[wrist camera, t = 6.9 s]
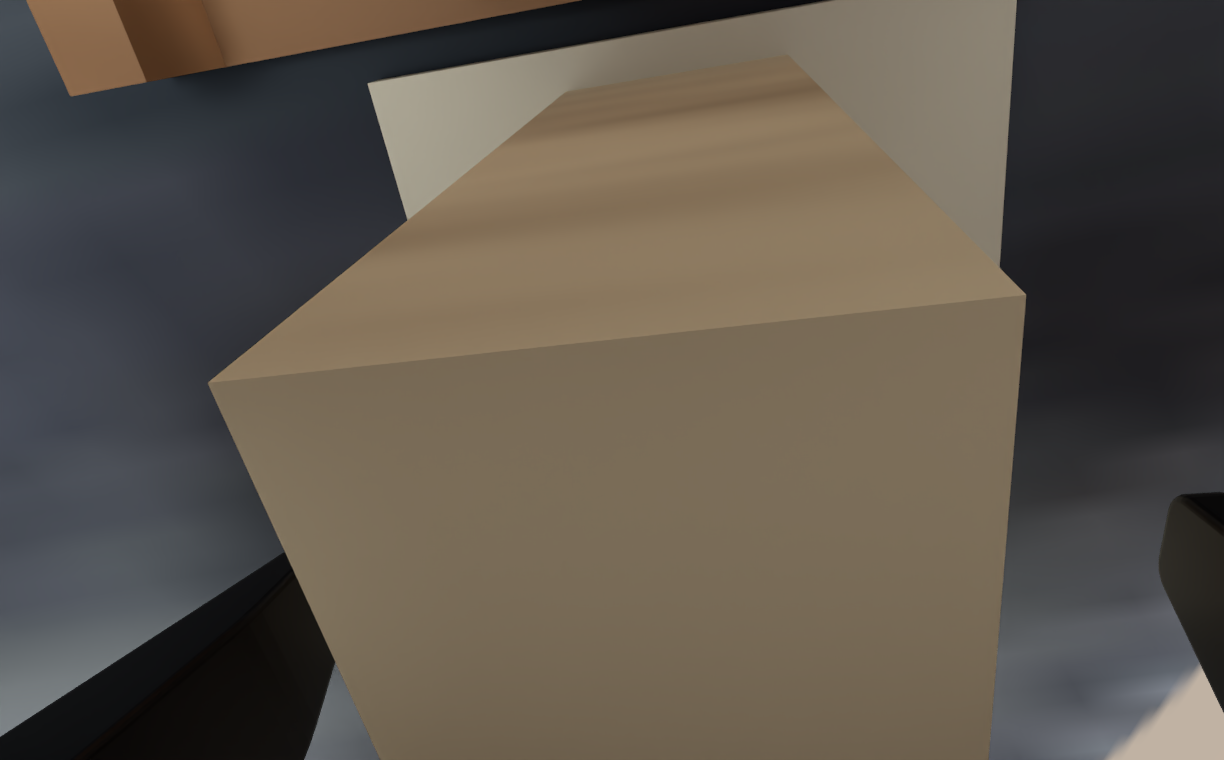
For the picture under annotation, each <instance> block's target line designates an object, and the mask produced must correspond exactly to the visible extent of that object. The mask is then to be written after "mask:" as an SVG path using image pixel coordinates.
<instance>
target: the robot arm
mask: <svg viewBox="0 0 1224 760" xmlns="http://www.w3.org/2000/svg"><path fill="white" fill-rule="evenodd" d="M1159 574H1160V578H1161V581H1162V584H1163V587H1164V589H1165V591H1166V593H1167V595H1168V597H1169V599H1170V601H1171V604H1172V606H1173V608H1174V610H1175V612H1176V614H1177V616H1178V618H1179V620H1180V622H1181V625H1182V627H1183V629H1184V631H1185V633H1186V635H1187V637H1188V639H1189V641H1190V643H1191V645H1192V648H1193V650H1194V652H1195V654H1196V656H1197V658H1198V660H1199V662H1200V664H1201V666H1202V669H1203V671H1204V673H1205V675H1206V677H1207V679H1208V681H1209V683H1210V685H1211V687H1212V690H1213V692H1214V694H1215V696H1216V698H1217V700H1218V702H1219V704H1220V706H1221V708H1222V710H1223V712H1224V493H1223V492H1212V493H1196V494H1183V495H1180V496H1178V497H1176V498H1175V499H1173V501H1172V502H1171V504H1170V507H1169V510H1168V515H1167V520H1166V525H1165V530H1164V535H1163V540H1162V545H1161V550H1160V555H1159ZM334 664H335V660H334V658H333V656H332V653H331V651H330V649H329V647H328V645H327V643H326V640H325V638H324V636H323V634H322V632H321V629H320V627H319V625H318V623H317V621H316V619H315V616H314V614H313V612H312V610H311V608H310V605H309V603H308V601H307V599H306V597H305V595H304V592H303V590H302V588H301V586H300V584H299V581H298V579H297V577H296V575H295V573H294V571H293V568H292V566H291V564H290V562H289V560H288V557H287V555H286V553H285V552H284V553H282V554H281V555H279V556H278V557H276V558H275V559H273V560H272V561H270V562H268V563H267V564H265V565H264V566H262V567H261V568H259V569H258V570H256V571H255V572H253V573H252V574H250V575H248V576H247V577H245V578H244V579H242V580H241V581H239V582H238V583H236V584H235V585H233V586H232V587H230V588H228V589H227V590H225V591H224V592H222V593H221V594H219V595H218V596H216V597H215V598H213V599H212V600H210V601H208V602H207V603H205V604H204V605H202V606H201V607H199V608H198V609H196V610H195V611H193V612H192V613H190V614H188V615H187V616H185V617H184V618H182V619H181V620H179V621H178V622H176V623H175V624H173V625H172V626H170V627H168V628H167V629H165V630H164V631H162V632H161V633H159V634H158V635H156V636H155V637H153V638H152V639H150V640H148V641H147V642H145V643H144V644H142V645H141V646H139V647H138V648H136V649H135V650H133V651H132V652H130V653H128V654H127V655H125V656H124V657H122V658H121V659H119V660H118V661H116V662H115V663H113V664H112V665H110V666H108V667H107V668H105V669H104V670H102V671H101V672H99V673H98V674H96V675H95V676H93V677H92V678H90V679H88V680H87V681H85V682H84V683H82V684H81V685H79V686H78V687H76V688H75V689H73V690H72V691H70V692H68V693H67V694H65V695H64V696H62V697H61V698H59V699H58V700H56V701H55V702H53V703H52V704H50V705H48V706H47V707H45V708H44V709H42V710H41V711H39V712H38V713H36V714H35V715H33V716H32V717H30V718H28V719H27V720H25V721H24V722H22V723H21V724H19V725H18V726H16V727H15V728H13V729H12V730H10V731H8V732H7V733H5V734H4V735H2V736H1V737H0V760H304V759H305V756H306V754H307V751H308V748H309V746H310V743H311V740H312V737H313V734H314V731H315V728H316V725H317V722H318V718H319V715H320V712H321V708H322V705H323V701H324V698H325V695H326V691H327V688H328V685H329V681H330V678H331V675H332V671H333V668H334Z"/></svg>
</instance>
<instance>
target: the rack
mask: <svg viewBox="0 0 1224 760" xmlns="http://www.w3.org/2000/svg"><path fill="white" fill-rule="evenodd" d="M26 1H27V3H28V5H29V7H30V10H31V12H32V14H33V16H34V18H35V20H36V23H37V25H38V27H39V29H40V31H41V33H42V36H43V38H44V40H45V42H46V44H47V46H48V49H49V51H50V53H51V55H52V57H53V59H54V62H55V64H56V66H57V68H58V70H59V72H60V75H61V77H62V79H63V81H64V83H65V85H66V88H67V90H68V92H69V94H70V96H75V95H81V94H86V93H91V92H97V91H102V90H107V89H113V88H118V87H123V86H129V85H134V84H139V83H144V82H150V81H155V80H160V79H166V78H171V77H176V76H181V75H187V74H192V73H197V72H202V71H208V70H213V69H218V68H223V67H229V66H234V65H239V64H245V63H250V62H255V61H261V60H266V59H271V58H277V57H282V56H287V55H293V54H298V53H303V52H309V51H314V50H319V49H324V48H330V47H335V46H340V45H346V44H351V43H356V42H362V41H367V40H372V39H378V38H383V37H388V36H394V35H399V34H404V33H410V32H415V31H420V30H426V29H431V28H436V27H441V26H447V25H452V24H457V23H463V22H468V21H473V20H479V19H484V18H489V17H495V16H500V15H505V14H511V13H516V12H521V11H527V10H532V9H537V8H543V7H548V6H553V5H558V4H564V3H569V2H574V1H580V0H26Z"/></svg>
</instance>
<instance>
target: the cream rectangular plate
mask: <svg viewBox="0 0 1224 760" xmlns="http://www.w3.org/2000/svg"><path fill="white" fill-rule="evenodd" d="M1016 4H1017V0H825V1H820V2H814V3H808V4H803V5H797V6H792V7H786V8H780V9H775V10H769V11H763V12H758V13H752V14H747V15H741V16H735V17H730V18H724V19H718V20H713V21H707V22H702V23H696V24H690V25H685V26H679V27H673V28H668V29H662V30H657V31H651V32H645V33H640V34H634V35H628V36H623V37H617V38H612V39H606V40H600V41H595V42H589V43H583V44H578V45H572V46H567V47H561V48H555V49H550V50H544V51H538V52H533V53H527V54H522V55H516V56H510V57H505V58H499V59H493V60H488V61H482V62H476V63H471V64H465V65H460V66H454V67H448V68H443V69H437V70H431V71H426V72H420V73H415V74H409V75H403V76H398V77H392V78H386V79H381V80H377V81H374V82H371V83H368V87H369V90H370V94H371V97H372V100H373V104H374V107H375V111H376V114H377V117H378V121H379V124H380V128H381V131H382V135H383V138H384V141H385V145H386V148H387V152H388V155H389V158H390V162H391V165H392V169H393V172H394V176H395V179H396V182H397V186H398V189H399V193H400V196H401V199H402V203H403V206H404V210H405V213H406V216H407V220H409V219H410V218H411V217H412V216H414V215H415V214H416V213H417V212H418V211H420V210H421V209H422V208H423V207H425V206H426V205H427V204H428V203H430V202H431V201H432V200H433V199H434V198H436V197H437V196H438V195H439V194H441V193H442V192H443V191H444V190H446V189H447V188H448V187H449V186H450V185H452V184H453V183H454V182H455V181H457V180H458V179H459V178H460V177H462V176H463V175H464V174H465V173H466V172H468V171H469V170H470V169H471V168H473V167H474V166H475V165H476V164H477V163H479V162H480V161H481V160H482V159H484V158H485V157H486V156H487V155H489V154H490V153H491V152H492V151H493V150H495V149H496V148H497V147H498V146H500V145H501V144H502V143H503V142H505V141H506V140H507V139H508V138H509V137H511V136H512V135H513V134H514V133H516V132H517V131H518V130H519V129H521V128H522V127H523V126H524V125H525V124H527V123H528V122H529V121H530V120H532V119H533V118H534V117H535V116H537V115H538V114H539V113H540V112H541V111H543V110H544V109H545V108H546V107H548V106H549V105H550V104H551V103H553V102H554V101H555V100H556V99H557V98H559V97H560V96H561V95H562V94H564V93H565V92H566V91H572V90H578V89H584V88H590V87H596V86H602V85H608V84H614V83H620V82H626V81H632V80H638V79H644V78H650V77H656V76H662V75H668V74H674V73H680V72H686V71H692V70H698V69H704V68H710V67H716V66H722V65H727V64H733V63H739V62H745V61H751V60H757V59H763V58H769V57H775V56H781V55H787V54H788V55H789V56H790V57H791V58H792V59H793V60H794V61H795V62H796V63H797V64H798V65H799V66H800V67H801V68H802V69H803V70H804V71H805V72H806V73H807V74H808V75H809V76H810V77H811V78H812V79H813V80H814V81H815V82H816V83H817V84H818V85H819V86H820V87H821V88H822V89H823V90H824V91H825V92H826V93H827V94H828V95H829V96H830V98H831V99H832V100H833V101H834V102H835V103H836V104H837V105H838V106H839V107H840V108H841V109H842V110H843V111H844V112H845V113H846V114H847V115H848V116H849V117H850V118H851V119H852V120H853V121H854V122H855V123H856V124H857V125H858V126H859V127H860V128H861V129H862V130H863V131H864V132H865V133H866V134H867V135H868V136H869V137H870V138H871V139H872V140H873V141H874V142H875V143H876V144H877V145H878V146H879V147H880V148H881V149H882V150H883V151H884V152H885V153H886V154H887V155H888V156H889V157H890V158H891V159H892V160H893V161H894V162H895V163H896V164H897V165H898V166H899V167H900V168H901V169H902V170H903V171H904V172H905V173H906V174H907V175H908V176H909V177H910V178H911V179H912V180H913V181H914V182H915V183H916V184H917V185H918V186H919V187H920V188H921V189H922V190H923V191H924V192H925V193H926V194H927V195H928V196H929V197H930V198H931V199H932V200H933V201H934V202H935V203H936V204H937V205H938V206H939V207H940V208H941V209H942V210H943V211H944V212H945V213H946V214H947V215H948V216H949V217H950V218H951V219H952V220H953V221H954V222H955V223H956V224H957V225H958V227H959V228H960V229H961V230H962V231H963V232H964V233H965V234H966V235H967V236H968V237H969V238H970V239H971V240H972V241H973V242H974V243H975V244H976V245H977V246H978V247H979V248H980V249H981V250H982V251H983V252H984V253H985V254H986V255H987V256H988V257H989V258H990V259H991V260H992V261H993V262H994V263H995V264H996V265H997V266H998V267H999V268H1000V253H1001V238H1002V222H1003V206H1004V191H1005V175H1006V160H1007V144H1008V129H1009V113H1010V98H1011V82H1012V66H1013V51H1014V35H1015V20H1016Z"/></svg>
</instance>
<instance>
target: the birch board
mask: <svg viewBox="0 0 1224 760" xmlns="http://www.w3.org/2000/svg"><path fill="white" fill-rule="evenodd" d="M1025 305H1026V294H1025V293H1024V292H1023V291H1022V290H1021V289H1020V288H1019V287H1018V286H1017V285H1016V284H1015V283H1014V282H1013V281H1012V280H1011V279H1010V278H1009V277H1008V276H1007V275H1006V274H1005V273H1004V272H1003V271H1002V270H1001V269H1000V268H999V267H998V266H997V265H996V264H995V263H994V262H993V261H992V260H991V259H990V258H989V257H988V256H987V255H986V254H985V253H984V252H983V251H982V250H981V249H980V248H979V247H978V246H977V245H976V244H975V243H974V242H973V241H972V240H971V239H970V238H969V237H968V236H967V235H966V234H965V233H964V232H963V231H962V230H961V229H960V228H959V227H958V225H957V224H956V223H955V222H954V221H953V220H952V219H951V218H950V217H949V216H948V215H947V214H946V213H945V212H944V211H943V210H942V209H941V208H940V207H939V206H938V205H937V204H936V203H935V202H934V201H933V200H932V199H931V198H930V197H929V196H928V195H927V194H926V193H925V192H924V191H923V190H922V189H921V188H920V187H919V186H918V185H917V184H916V183H915V182H914V181H913V180H912V179H911V178H910V177H909V176H908V175H907V174H906V173H905V172H904V171H903V170H902V169H901V168H900V167H899V166H898V165H897V164H896V163H895V162H894V161H893V160H892V159H891V158H890V157H889V156H888V155H887V154H886V153H885V152H884V151H883V150H882V149H881V148H880V147H879V146H878V145H877V144H876V143H875V142H874V141H873V140H872V139H871V138H870V137H869V136H868V135H867V134H866V133H865V132H864V131H863V130H862V129H861V128H860V127H859V126H858V125H857V124H856V123H855V122H854V121H853V120H852V119H851V118H850V117H849V116H848V115H847V114H846V113H845V112H844V111H843V110H842V109H841V108H840V107H839V106H838V105H837V104H836V103H835V102H834V101H833V100H832V99H831V98H830V96H829V95H828V94H827V93H826V92H825V91H824V90H823V89H822V88H821V87H820V86H819V85H818V84H817V83H816V82H815V81H814V80H813V79H812V78H811V77H810V76H809V75H808V74H807V73H806V72H805V71H804V70H803V69H802V68H801V67H800V66H799V65H798V64H797V63H796V62H795V61H794V60H793V59H792V58H791V57H790V56H789V55H788V54H787V55H781V56H775V57H769V58H763V59H757V60H751V61H745V62H739V63H733V64H727V65H722V66H716V67H710V68H704V69H698V70H692V71H686V72H680V73H674V74H668V75H662V76H656V77H650V78H644V79H638V80H632V81H626V82H620V83H614V84H608V85H602V86H596V87H590V88H584V89H578V90H572V91H566V92H565V93H564V94H562V95H561V96H560V97H559V98H557V99H556V100H555V101H554V102H553V103H551V104H550V105H549V106H548V107H546V108H545V109H544V110H543V111H541V112H540V113H539V114H538V115H537V116H535V117H534V118H533V119H532V120H530V121H529V122H528V123H527V124H525V125H524V126H523V127H522V128H521V129H519V130H518V131H517V132H516V133H514V134H513V135H512V136H511V137H509V138H508V139H507V140H506V141H505V142H503V143H502V144H501V145H500V146H498V147H497V148H496V149H495V150H493V151H492V152H491V153H490V154H489V155H487V156H486V157H485V158H484V159H482V160H481V161H480V162H479V163H477V164H476V165H475V166H474V167H473V168H471V169H470V170H469V171H468V172H466V173H465V174H464V175H463V176H462V177H460V178H459V179H458V180H457V181H455V182H454V183H453V184H452V185H450V186H449V187H448V188H447V189H446V190H444V191H443V192H442V193H441V194H439V195H438V196H437V197H436V198H434V199H433V200H432V201H431V202H430V203H428V204H427V205H426V206H425V207H423V208H422V209H421V210H420V211H418V212H417V213H416V214H415V215H414V216H412V217H411V218H410V219H409V220H407V221H406V222H405V223H404V224H402V225H401V226H400V227H399V228H398V229H396V230H395V231H394V232H393V233H391V234H390V235H389V236H388V237H386V238H385V239H384V240H383V241H382V242H380V243H379V244H378V245H377V246H375V247H374V248H373V249H372V250H370V251H369V252H368V253H367V254H366V255H364V256H363V257H362V258H361V259H359V260H358V261H357V262H356V263H354V264H353V265H352V266H351V267H350V268H348V269H347V270H346V271H345V272H343V273H342V274H341V275H340V276H338V277H337V278H336V279H335V280H334V281H332V282H331V283H330V284H329V285H327V286H326V287H325V288H324V289H322V290H321V291H320V292H319V293H318V294H316V295H315V296H314V297H313V298H311V299H310V300H309V301H308V302H306V303H305V304H304V305H303V306H302V307H300V308H299V309H298V310H297V311H295V312H294V313H293V314H292V315H291V316H289V317H288V318H287V319H286V320H284V321H283V322H282V323H281V324H279V325H278V326H277V327H276V328H275V329H273V330H272V331H271V332H270V333H268V334H267V335H266V336H265V337H263V338H262V339H261V340H260V341H259V342H257V343H256V344H255V345H254V346H252V347H251V348H250V349H249V350H247V351H246V352H245V353H244V354H243V355H241V356H240V357H239V358H238V359H236V360H235V361H234V362H233V363H231V364H230V365H229V366H228V367H227V368H225V369H224V370H223V371H222V372H220V373H219V374H218V375H217V376H215V377H214V378H213V379H212V380H211V381H209V382H208V385H209V387H210V389H211V392H212V394H213V396H214V398H215V400H216V403H217V405H218V407H219V409H220V411H221V413H222V416H223V418H224V420H225V422H226V424H227V427H228V429H229V431H230V433H231V435H232V437H233V440H234V442H235V444H236V446H237V448H238V451H239V453H240V455H241V457H242V459H243V461H244V464H245V466H246V468H247V470H248V472H249V475H250V477H251V479H252V481H253V483H254V485H255V488H256V490H257V492H258V494H259V496H260V499H261V501H262V503H263V505H264V507H265V509H266V512H267V514H268V516H269V518H270V520H271V523H272V525H273V527H274V529H275V531H276V533H277V536H278V538H279V540H280V542H281V544H282V547H283V549H284V551H285V553H286V555H287V557H288V560H289V562H290V564H291V566H292V568H293V571H294V573H295V575H296V577H297V579H298V581H299V584H300V586H301V588H302V590H303V592H304V595H305V597H306V599H307V601H308V603H309V605H310V608H311V610H312V612H313V614H314V616H315V619H316V621H317V623H318V625H319V627H320V629H321V632H322V634H323V636H324V638H325V640H326V643H327V645H328V647H329V649H330V651H331V653H332V656H333V658H334V660H335V662H336V664H337V667H338V669H339V671H340V673H341V675H342V677H343V680H344V682H345V684H346V686H347V688H348V691H349V693H350V695H351V697H352V699H353V701H354V704H355V706H356V708H357V710H358V712H359V715H360V717H361V719H362V721H363V723H364V725H365V728H366V730H367V732H368V734H369V736H370V738H371V741H372V743H373V745H374V747H375V749H376V752H377V754H378V756H379V758H380V760H988V759H989V746H990V734H991V722H992V710H993V697H994V685H995V673H996V660H997V648H998V636H999V624H1000V611H1001V599H1002V587H1003V575H1004V562H1005V550H1006V538H1007V525H1008V513H1009V501H1010V489H1011V476H1012V464H1013V452H1014V440H1015V427H1016V415H1017V403H1018V390H1019V378H1020V366H1021V354H1022V341H1023V329H1024V317H1025Z"/></svg>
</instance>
